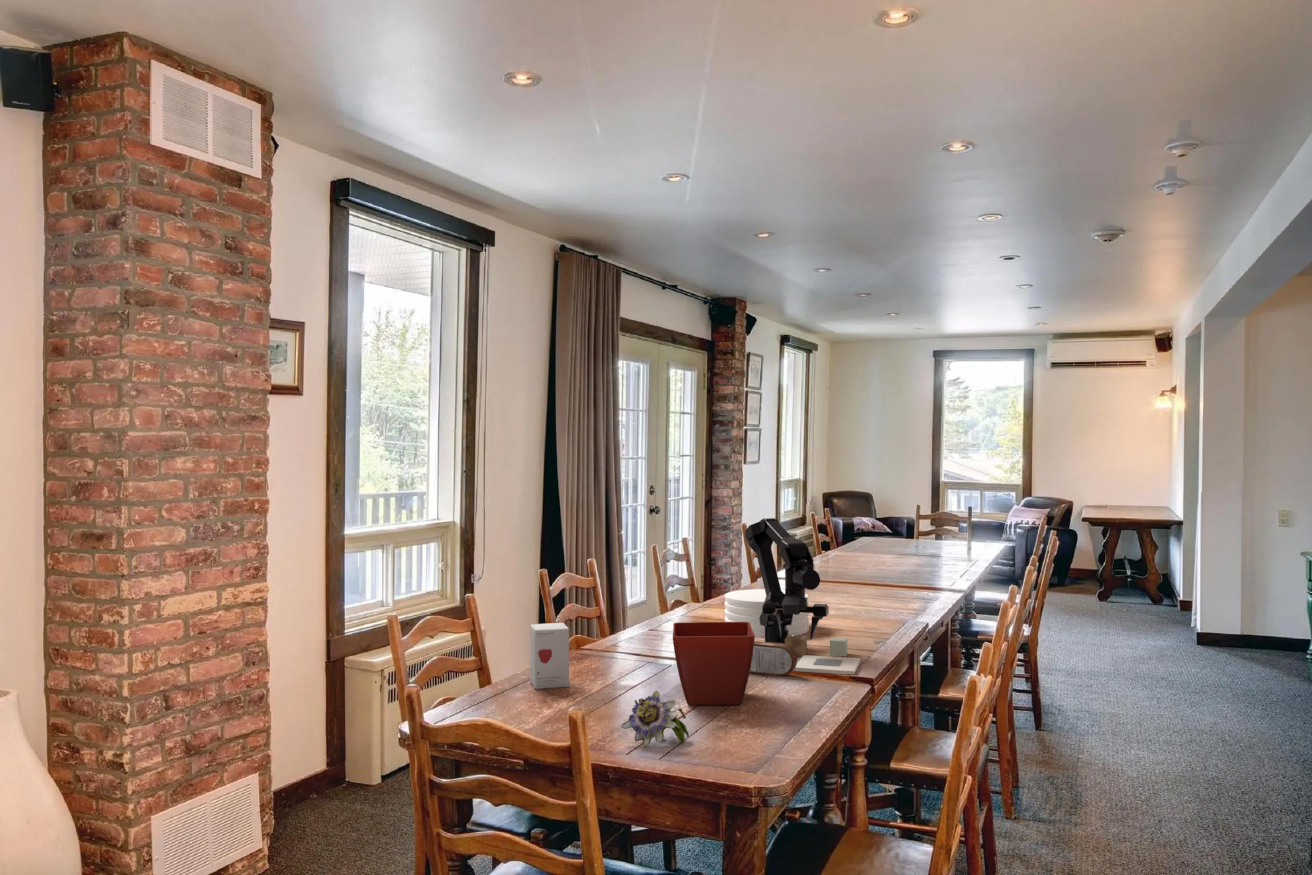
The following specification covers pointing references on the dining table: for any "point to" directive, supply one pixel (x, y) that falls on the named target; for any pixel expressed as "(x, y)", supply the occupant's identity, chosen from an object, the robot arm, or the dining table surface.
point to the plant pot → (713, 660)
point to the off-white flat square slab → (827, 664)
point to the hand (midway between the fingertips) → (795, 638)
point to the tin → (773, 659)
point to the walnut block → (797, 644)
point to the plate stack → (758, 611)
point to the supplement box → (549, 655)
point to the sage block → (838, 647)
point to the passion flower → (655, 720)
